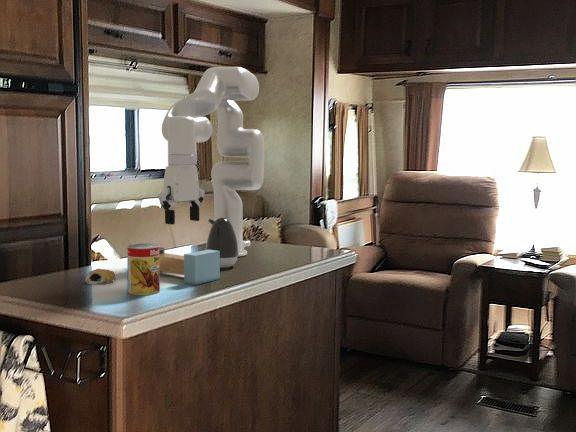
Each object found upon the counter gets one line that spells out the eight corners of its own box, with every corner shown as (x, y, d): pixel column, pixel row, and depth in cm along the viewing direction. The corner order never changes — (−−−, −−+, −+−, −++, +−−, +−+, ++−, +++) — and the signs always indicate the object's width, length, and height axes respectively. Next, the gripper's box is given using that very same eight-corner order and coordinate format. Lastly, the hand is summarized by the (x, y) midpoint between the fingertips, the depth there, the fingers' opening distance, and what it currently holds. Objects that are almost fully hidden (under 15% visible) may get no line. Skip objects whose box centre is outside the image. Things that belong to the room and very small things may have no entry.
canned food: (161, 294, 177) (160, 247, 175) (129, 296, 175) (128, 248, 173) (158, 287, 184) (157, 242, 183) (127, 289, 182) (126, 243, 181)
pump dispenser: (220, 262, 223) (219, 215, 221) (245, 266, 217) (245, 217, 215) (198, 267, 214) (197, 217, 213) (224, 271, 208) (223, 220, 207)
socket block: (209, 277, 198) (209, 249, 198) (219, 279, 196) (219, 251, 195) (184, 283, 190) (184, 254, 189) (194, 285, 188) (194, 255, 187)
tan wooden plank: (157, 267, 207) (157, 250, 207) (208, 275, 195) (208, 258, 195) (144, 269, 203) (144, 252, 203) (195, 278, 191) (195, 260, 191)
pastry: (99, 277, 198) (98, 264, 198) (121, 279, 197) (121, 265, 196) (83, 284, 189) (83, 270, 188) (107, 285, 188) (106, 271, 187)
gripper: (193, 159, 203) (194, 218, 205) (149, 161, 189) (150, 224, 191) (212, 160, 199) (213, 220, 201) (168, 162, 185) (169, 226, 187)
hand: (182, 222), depth 196 cm, fingers open, 9 cm apart
